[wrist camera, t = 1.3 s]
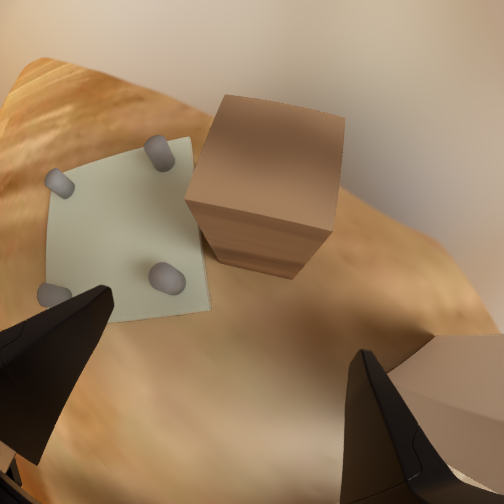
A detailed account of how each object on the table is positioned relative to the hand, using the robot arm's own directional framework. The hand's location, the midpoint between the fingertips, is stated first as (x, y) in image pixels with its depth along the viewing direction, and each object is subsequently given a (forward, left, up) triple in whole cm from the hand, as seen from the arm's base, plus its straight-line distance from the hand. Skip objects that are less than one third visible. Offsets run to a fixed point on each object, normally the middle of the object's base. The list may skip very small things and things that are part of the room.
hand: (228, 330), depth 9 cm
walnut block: (+6, +4, -13) cm, 15 cm away
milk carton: (+8, -16, -13) cm, 22 cm away
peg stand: (-4, +13, -13) cm, 19 cm away
